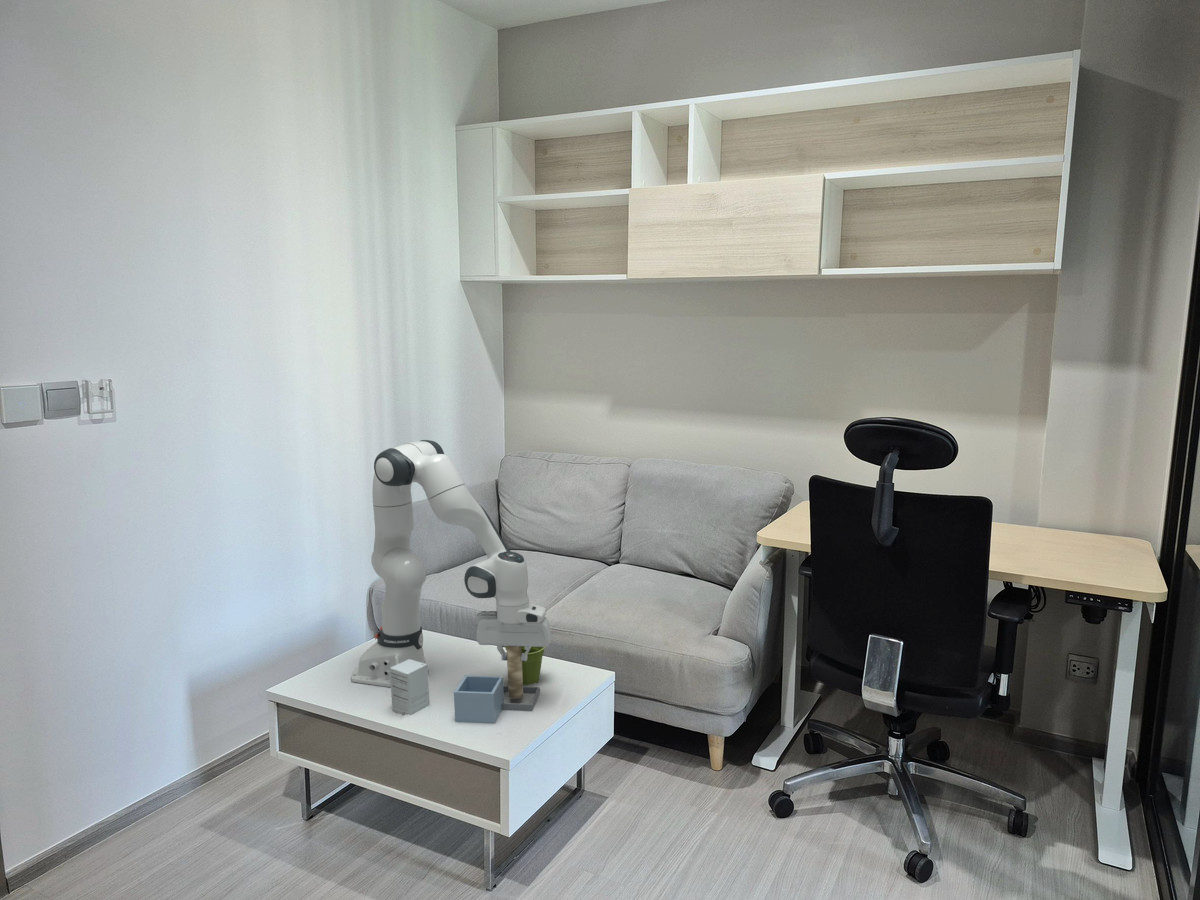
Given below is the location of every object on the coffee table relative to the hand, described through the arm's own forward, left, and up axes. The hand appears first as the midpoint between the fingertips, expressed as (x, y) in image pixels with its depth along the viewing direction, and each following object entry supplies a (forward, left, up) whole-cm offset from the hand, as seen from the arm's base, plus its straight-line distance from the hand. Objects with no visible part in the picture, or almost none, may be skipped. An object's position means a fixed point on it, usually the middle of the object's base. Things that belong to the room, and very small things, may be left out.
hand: (514, 660), depth 229 cm
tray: (0, 0, -13) cm, 13 cm away
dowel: (0, 0, -10) cm, 10 cm away
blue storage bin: (-8, -8, -13) cm, 17 cm away
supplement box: (-28, -6, -13) cm, 31 cm away
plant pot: (0, +14, -13) cm, 19 cm away
